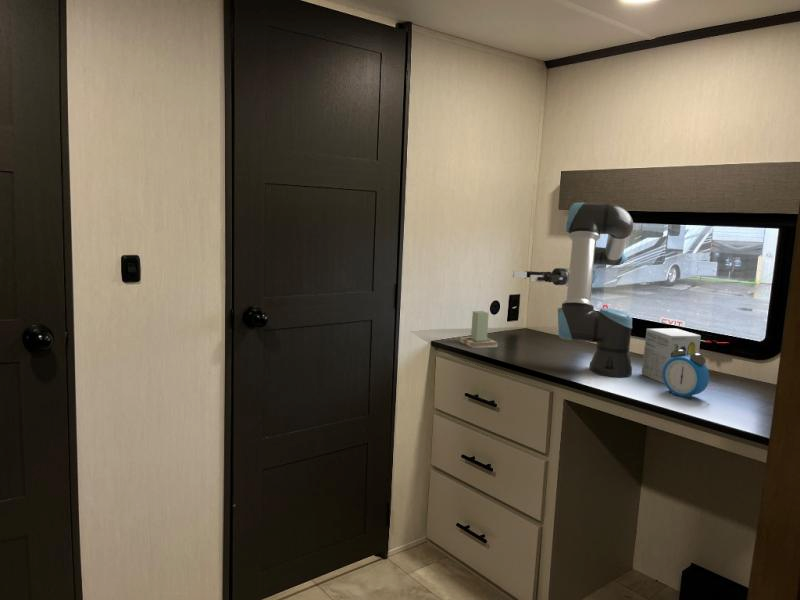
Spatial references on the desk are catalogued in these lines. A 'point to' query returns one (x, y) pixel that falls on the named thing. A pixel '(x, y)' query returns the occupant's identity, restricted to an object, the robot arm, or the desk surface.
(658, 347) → the supplement box
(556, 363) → the desk surface
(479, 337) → the sage pillar
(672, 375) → the alarm clock
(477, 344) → the letter tile
